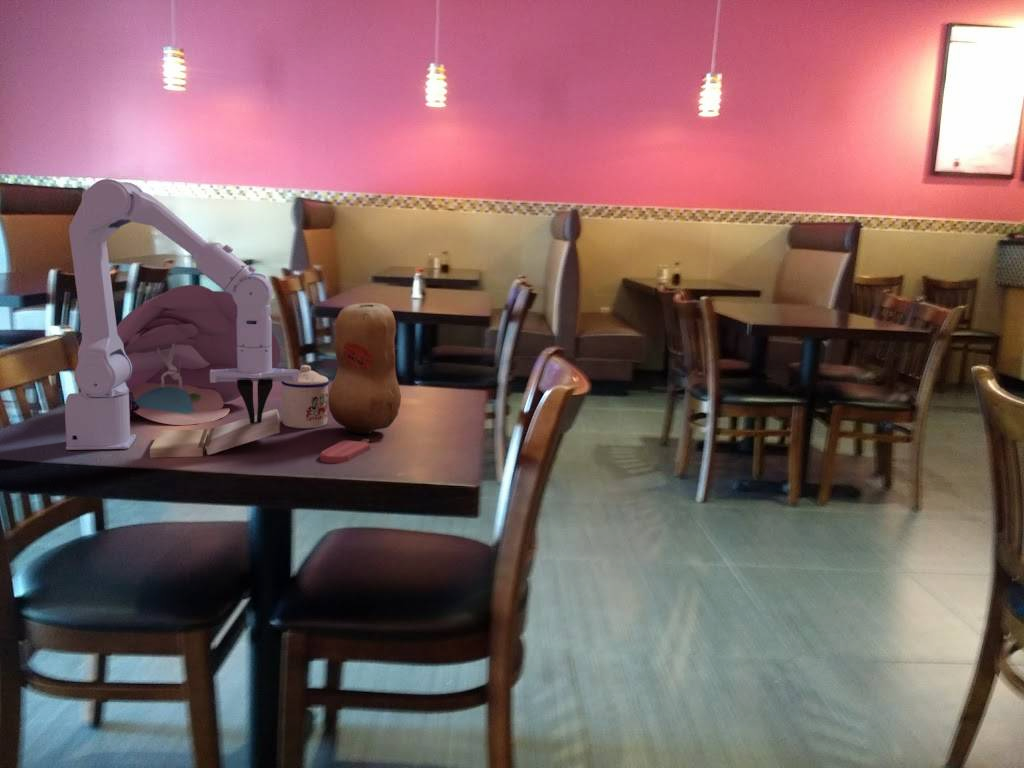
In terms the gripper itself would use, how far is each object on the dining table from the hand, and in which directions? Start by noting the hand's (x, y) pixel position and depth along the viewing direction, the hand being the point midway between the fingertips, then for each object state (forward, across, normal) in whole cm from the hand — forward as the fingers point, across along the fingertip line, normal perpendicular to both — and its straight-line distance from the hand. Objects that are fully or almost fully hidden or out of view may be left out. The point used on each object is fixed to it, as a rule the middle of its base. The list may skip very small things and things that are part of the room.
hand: (255, 422), depth 137 cm
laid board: (+4, -12, 0) cm, 13 cm away
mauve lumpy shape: (+4, -15, +26) cm, 30 cm away
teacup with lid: (+5, +10, +17) cm, 20 cm away
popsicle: (+5, +16, -5) cm, 17 cm away
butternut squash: (+5, +20, +8) cm, 22 cm away
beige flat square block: (+2, -2, 0) cm, 3 cm away
